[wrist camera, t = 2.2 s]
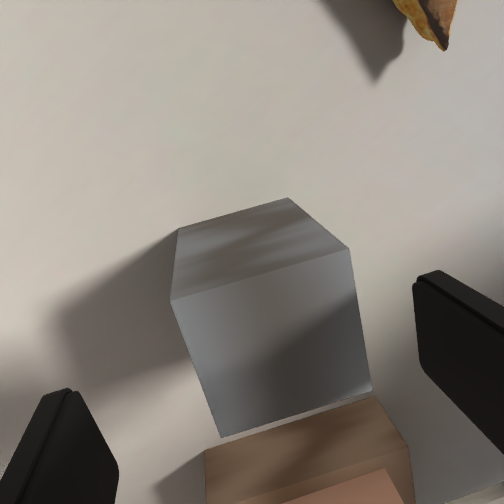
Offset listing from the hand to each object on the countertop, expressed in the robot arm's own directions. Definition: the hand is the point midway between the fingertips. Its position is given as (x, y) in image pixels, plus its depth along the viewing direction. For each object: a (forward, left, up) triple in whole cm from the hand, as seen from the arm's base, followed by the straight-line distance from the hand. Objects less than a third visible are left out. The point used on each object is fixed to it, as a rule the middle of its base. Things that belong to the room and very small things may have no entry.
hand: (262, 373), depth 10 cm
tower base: (-1, +15, -8) cm, 17 cm away
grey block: (-1, 0, -8) cm, 8 cm away
